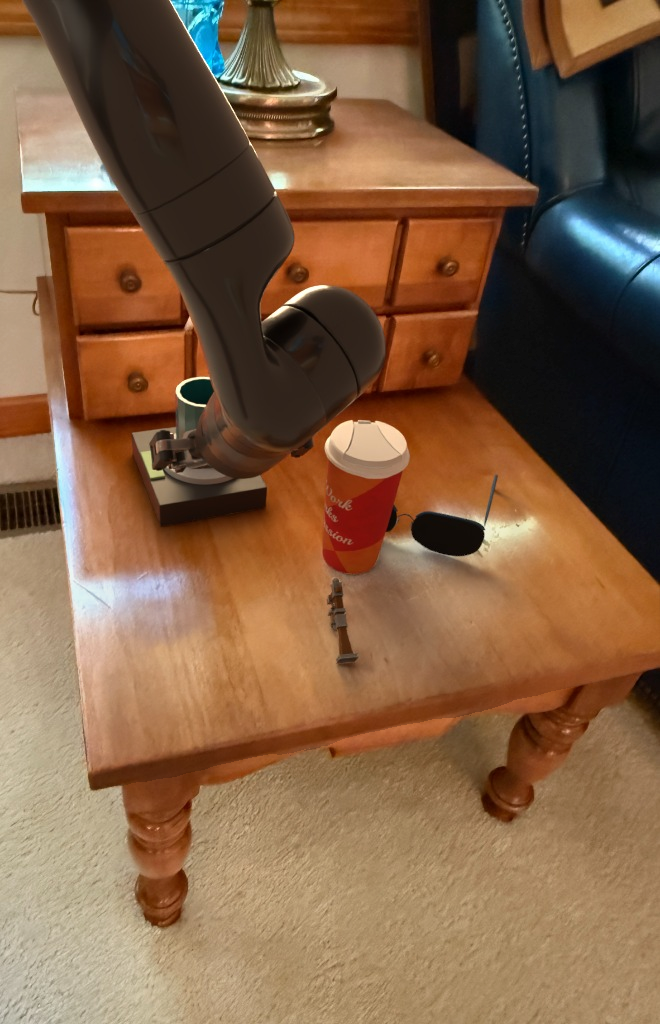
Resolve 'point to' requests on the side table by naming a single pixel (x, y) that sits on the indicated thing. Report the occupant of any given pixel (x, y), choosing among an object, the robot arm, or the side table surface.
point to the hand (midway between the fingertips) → (220, 458)
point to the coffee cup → (360, 492)
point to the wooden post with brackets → (340, 623)
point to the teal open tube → (191, 403)
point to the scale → (193, 488)
